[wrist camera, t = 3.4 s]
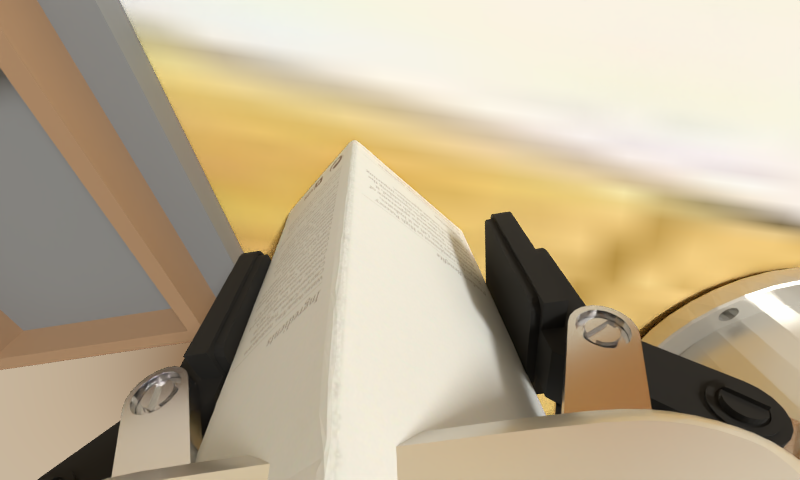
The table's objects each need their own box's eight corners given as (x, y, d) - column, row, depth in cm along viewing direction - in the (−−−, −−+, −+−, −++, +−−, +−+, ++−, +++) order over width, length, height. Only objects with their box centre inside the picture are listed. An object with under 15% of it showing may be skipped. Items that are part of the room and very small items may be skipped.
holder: (103, -32, 9) (24, -44, 7) (265, 297, 16) (248, 340, 14) (-307, 46, 10) (-495, 56, 8) (17, 334, 16) (-36, 382, 14)
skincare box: (285, 214, 14) (17, 799, 3) (358, 128, 12) (248, 772, 2) (400, 290, 16) (439, 762, 6) (474, 228, 14) (700, 736, 4)
